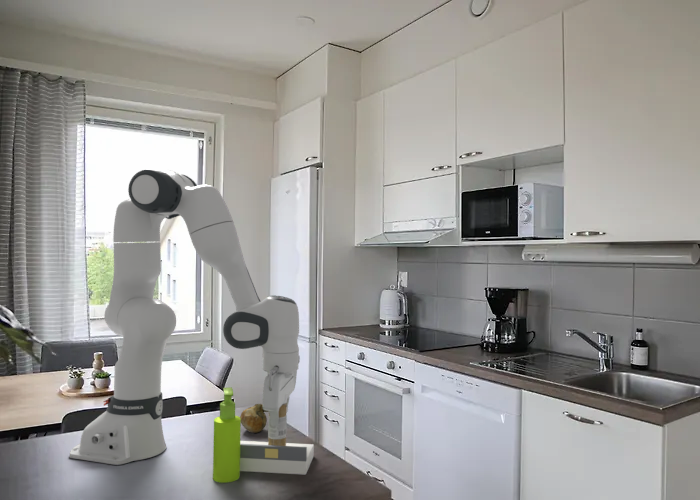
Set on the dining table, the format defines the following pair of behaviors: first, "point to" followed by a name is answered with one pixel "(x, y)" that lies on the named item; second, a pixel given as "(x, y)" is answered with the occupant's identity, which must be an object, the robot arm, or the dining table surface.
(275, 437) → the sprinkles bottle
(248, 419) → the onion
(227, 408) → the soap dispenser
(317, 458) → the dining table surface
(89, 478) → the dining table surface
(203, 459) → the dining table surface
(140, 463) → the dining table surface
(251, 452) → the white slab
